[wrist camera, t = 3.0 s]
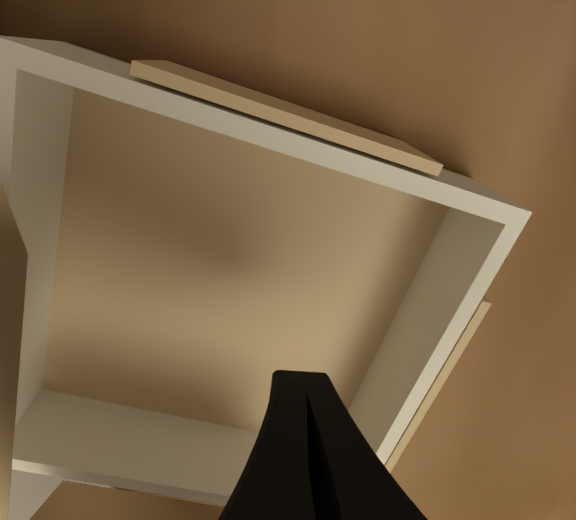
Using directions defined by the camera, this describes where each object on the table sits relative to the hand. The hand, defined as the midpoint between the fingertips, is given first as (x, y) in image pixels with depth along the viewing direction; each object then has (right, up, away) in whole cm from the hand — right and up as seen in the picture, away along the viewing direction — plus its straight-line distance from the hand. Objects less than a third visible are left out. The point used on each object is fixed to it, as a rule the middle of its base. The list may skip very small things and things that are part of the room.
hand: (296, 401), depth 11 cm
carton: (-2, +2, +5) cm, 6 cm away
